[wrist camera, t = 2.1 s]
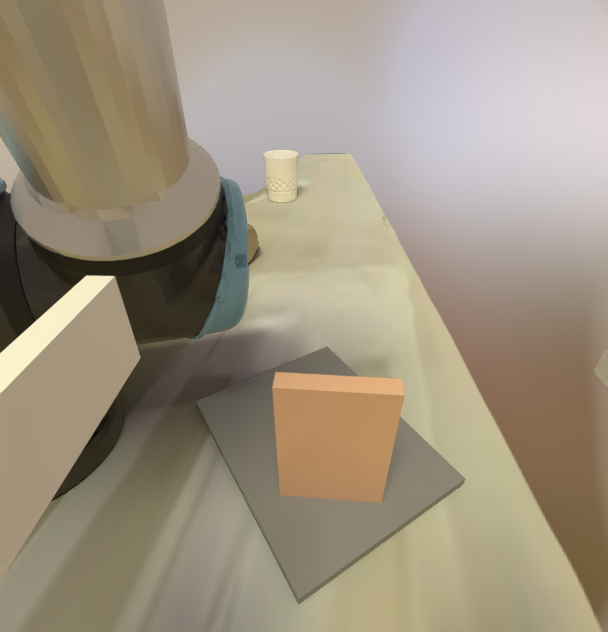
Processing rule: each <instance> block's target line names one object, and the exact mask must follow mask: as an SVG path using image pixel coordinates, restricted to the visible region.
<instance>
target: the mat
mask: <svg viewBox="0 0 608 632" xmlns="http://www.w3.org/2000/svg"><path fill="white" fill-rule="evenodd" d="M275 372H284V373H302V374H320V375H338V376H356V377H358V376H357V375H356V374H355V373H354V372H353V371H352V370H351V369H350V368H349V367H348V366H347V365H346V364H345V363H344V362H343V361H341V360H340V359H339V358H338V357H337V356H336V355H335V354H334V353H333V352H332V351H331V350H330V349H329V348H328V347H325V348H323V349H320V350H318V351H315V352H313V353H311V354H308V355H306V356H303V357H301V358H298V359H296V360H294V361H291V362H289V363H286V364H284V365H281V366H279V367H277V368H274V369H272V370H269V371H267V372H264V373H262V374H260V375H257V376H255V377H252V378H250V379H247V380H245V381H242V382H240V383H238V384H235V385H233V386H230V387H228V388H225V389H223V390H221V391H218V392H216V393H213V394H211V395H208V396H206V397H204V398H201V399H199V400H196V404H197V407H198V409H199V411H200V413H201V415H202V417H203V419H204V421H205V423H206V424H207V426H208V428H209V430H210V432H211V434H212V436H213V438H214V440H215V442H216V444H217V446H218V448H219V450H220V452H221V454H222V456H223V458H224V460H225V461H226V463H227V465H228V467H229V469H230V471H231V473H232V475H233V477H234V479H235V481H236V483H237V485H238V487H239V489H240V491H241V493H242V495H243V496H244V498H245V500H246V502H247V504H248V506H249V508H250V510H251V512H252V514H253V516H254V518H255V520H256V522H257V524H258V526H259V528H260V530H261V532H262V533H263V535H264V537H265V539H266V541H267V543H268V545H269V547H270V549H271V551H272V553H273V555H274V557H275V559H276V561H277V563H278V565H279V567H280V569H281V570H282V572H283V574H284V576H285V578H286V580H287V582H288V584H289V586H290V588H291V590H292V592H293V594H294V596H295V598H296V600H297V602H298V604H300V603H301V602H303V601H304V600H305V599H307V598H308V597H309V596H311V595H312V594H313V593H315V592H316V591H318V590H319V589H320V588H322V587H323V586H324V585H326V584H327V583H329V582H330V581H331V580H333V579H334V578H335V577H337V576H338V575H340V574H341V573H342V572H344V571H345V570H346V569H348V568H349V567H350V566H352V565H353V564H355V563H356V562H357V561H359V560H360V559H361V558H363V557H364V556H366V555H367V554H368V553H370V552H371V551H372V550H374V549H375V548H376V547H378V546H379V545H381V544H382V543H383V542H385V541H386V540H387V539H389V538H390V537H392V536H393V535H394V534H396V533H397V532H398V531H400V530H401V529H402V528H404V527H405V526H407V525H408V524H409V523H411V522H412V521H413V520H415V519H416V518H418V517H419V516H420V515H422V514H423V513H424V512H426V511H427V510H429V509H430V508H431V507H433V506H434V505H435V504H437V503H438V502H439V501H441V500H442V499H444V498H445V497H446V496H448V495H449V494H450V493H452V492H453V491H455V490H456V489H457V488H459V487H460V486H461V485H463V483H464V481H465V478H464V477H463V476H462V475H461V474H460V473H459V472H458V471H456V470H455V469H454V468H453V467H452V466H451V465H450V464H449V463H448V462H447V461H446V460H445V459H444V458H443V457H442V456H441V455H440V454H439V453H438V452H437V451H436V450H435V449H433V448H432V447H431V446H430V445H429V444H428V443H427V442H426V441H425V440H424V439H423V438H422V437H421V436H420V435H419V434H418V433H417V432H416V431H415V430H414V429H413V428H412V427H410V426H409V425H408V424H407V423H406V422H405V421H404V420H403V419H402V418H401V417H400V418H399V423H398V427H397V432H396V437H395V442H394V446H393V451H392V456H391V461H390V466H389V470H388V475H387V480H386V485H385V490H384V494H383V499H382V503H374V502H361V501H348V500H335V499H322V498H310V497H297V496H284V495H280V490H279V476H278V462H277V448H276V434H275V419H274V405H273V391H272V387H273V382H274V377H275Z"/></svg>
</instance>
